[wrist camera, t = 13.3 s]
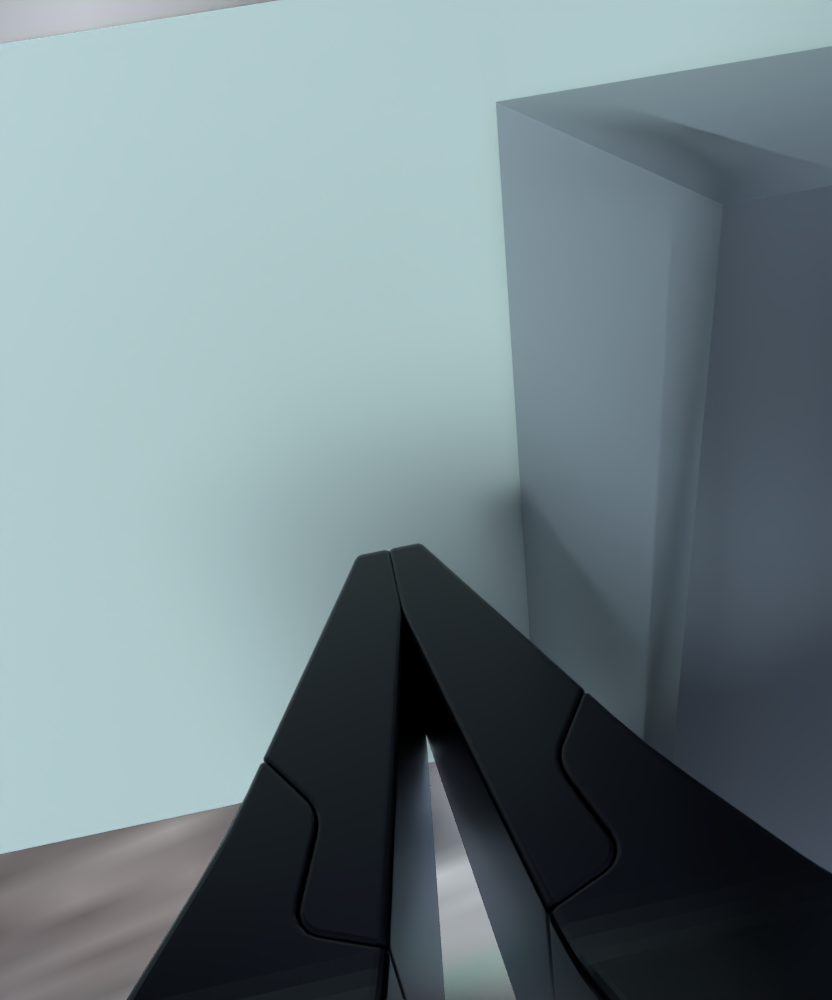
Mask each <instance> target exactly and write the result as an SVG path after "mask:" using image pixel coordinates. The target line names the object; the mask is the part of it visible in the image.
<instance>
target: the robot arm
mask: <svg viewBox="0 0 832 1000" xmlns="http://www.w3.org/2000/svg"><path fill="white" fill-rule="evenodd" d="M426 736H427V739H428V742H429V745H430V748H431V751H432V754H433V757H434V760H435V763H436V766H437V769H438V771H439V774H440V777H441V780H442V783H443V786H444V789H445V792H446V795H447V798H448V801H449V804H450V807H451V809H452V812H453V815H454V818H455V821H456V824H457V827H458V830H459V833H460V836H461V839H462V842H463V845H464V847H465V850H466V853H467V856H468V859H469V862H470V865H471V868H472V871H473V874H474V877H475V880H476V883H477V885H478V888H479V891H480V894H481V897H482V900H483V903H484V906H485V909H486V912H487V915H488V918H489V920H490V923H491V926H492V929H493V932H494V935H495V938H496V941H497V944H498V947H499V950H500V953H501V956H502V958H503V961H504V964H505V967H506V970H507V973H508V976H509V979H510V982H511V985H512V988H513V991H514V994H515V996H516V999H517V1000H832V873H831V872H829V871H827V870H826V869H824V868H822V867H820V866H819V865H817V864H816V863H814V862H813V861H811V860H810V859H808V858H807V857H805V856H804V855H802V854H801V853H799V852H798V851H796V850H795V849H793V848H792V847H791V846H789V845H788V844H786V843H785V842H783V841H782V840H781V839H779V838H778V837H776V836H775V835H774V834H772V833H771V832H769V831H768V830H766V829H765V828H764V827H762V826H761V825H759V824H758V823H757V822H755V821H754V820H752V819H751V818H749V817H748V816H747V815H745V814H744V813H742V812H741V811H740V810H738V809H737V808H735V807H734V806H732V805H731V804H730V803H728V802H727V801H725V800H724V799H723V798H721V797H720V796H718V795H717V794H715V793H714V792H713V791H711V790H710V789H708V788H707V787H706V786H704V785H703V784H701V783H700V782H698V781H697V780H696V779H694V778H693V777H691V776H690V775H689V774H687V773H686V772H685V771H683V770H682V769H680V768H679V767H678V766H676V765H675V764H674V763H672V762H671V761H670V760H668V759H667V758H666V757H664V756H663V755H662V754H660V753H659V752H658V751H656V750H655V749H654V748H652V747H651V746H650V745H648V744H647V743H646V742H644V741H643V740H642V739H641V738H640V737H638V736H637V735H636V734H635V733H634V732H632V731H631V730H630V729H629V728H628V727H627V726H625V725H624V724H623V723H622V722H621V721H619V720H618V719H617V718H616V717H615V716H613V715H612V714H611V713H610V712H609V711H608V710H607V709H606V708H605V707H603V706H602V705H601V704H600V703H599V702H598V701H597V700H596V699H595V698H594V697H592V696H591V695H590V694H589V693H585V691H584V689H583V688H582V687H581V686H580V685H579V684H578V683H576V682H575V681H574V680H573V679H572V678H571V677H570V676H569V675H567V674H566V673H565V672H564V671H563V670H562V669H561V668H560V667H559V666H557V665H556V664H555V663H554V662H553V661H552V660H551V659H550V658H549V657H547V656H546V655H545V654H544V653H543V652H542V651H541V650H540V649H539V648H537V647H536V646H535V645H534V644H533V643H532V642H531V641H530V640H529V639H527V638H526V637H525V636H524V635H523V634H522V633H521V632H520V631H519V630H517V629H516V628H515V627H514V626H513V625H512V624H511V623H510V622H508V621H507V620H506V619H505V618H504V617H503V616H502V615H501V614H500V613H498V612H497V611H496V610H495V609H494V608H493V607H492V606H491V605H490V604H488V603H487V602H486V601H485V600H484V599H483V598H482V597H481V596H480V595H478V594H477V593H476V592H475V591H474V590H473V589H472V588H471V587H470V586H468V585H467V584H466V583H465V582H464V581H463V580H462V579H461V578H459V577H458V576H457V575H456V574H455V573H454V572H453V571H452V570H451V569H449V568H448V567H447V566H446V565H445V564H444V563H443V562H442V561H441V560H439V559H438V558H437V557H436V556H435V555H434V554H433V553H432V552H431V551H429V550H428V549H427V548H426V547H425V546H424V545H422V544H420V543H416V544H411V545H406V546H401V547H396V548H393V549H391V550H390V551H388V550H382V551H377V552H372V553H367V554H362V555H359V556H358V557H357V558H356V559H355V561H354V563H353V566H352V568H351V570H350V572H349V574H348V576H347V579H346V581H345V583H344V585H343V587H342V589H341V591H340V594H339V596H338V598H337V600H336V602H335V604H334V607H333V609H332V611H331V613H330V615H329V617H328V620H327V622H326V624H325V626H324V628H323V630H322V633H321V635H320V637H319V639H318V641H317V643H316V645H315V648H314V650H313V652H312V654H311V656H310V658H309V661H308V663H307V665H306V667H305V669H304V671H303V674H302V676H301V678H300V680H299V682H298V684H297V687H296V689H295V691H294V693H293V695H292V697H291V699H290V702H289V704H288V706H287V708H286V710H285V712H284V715H283V717H282V719H281V721H280V723H279V725H278V728H277V730H276V732H275V734H274V736H273V738H272V741H271V743H270V745H269V747H268V749H267V751H266V753H265V756H264V758H263V760H264V763H261V764H260V766H259V768H258V770H257V772H256V774H255V776H254V779H253V781H252V783H251V785H250V787H249V790H248V792H247V794H246V796H245V798H244V800H243V802H242V804H241V806H240V808H239V810H238V812H237V814H236V816H235V818H234V820H233V822H232V824H231V826H230V828H229V830H228V832H227V834H226V836H225V837H224V839H223V841H222V843H221V844H220V846H219V848H218V849H217V851H216V853H215V855H214V856H213V858H212V860H211V862H210V863H209V865H208V867H207V868H206V870H205V872H204V874H203V875H202V877H201V879H200V880H199V882H198V884H197V886H196V887H195V889H194V890H193V892H192V894H191V895H190V897H189V899H188V900H187V902H186V904H185V905H184V907H183V908H182V910H181V912H180V913H179V915H178V917H177V918H176V920H175V922H174V923H173V925H172V926H171V928H170V930H169V931H168V933H167V935H166V936H165V938H164V939H163V941H162V943H161V944H160V946H159V948H158V949H157V951H156V953H155V954H154V956H153V957H152V959H151V961H150V962H149V964H148V966H147V967H146V969H145V971H144V972H143V974H142V975H141V977H140V979H139V980H138V982H137V984H136V985H135V987H134V988H133V990H132V992H131V993H130V995H129V997H128V998H127V1000H445V994H444V979H443V965H442V951H441V937H440V922H439V908H438V894H437V879H436V865H435V851H434V836H433V822H432V808H431V794H430V779H429V765H428V751H427V739H426Z"/></svg>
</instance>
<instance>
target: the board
mask: <svg viewBox="0 0 832 1000" xmlns="http://www.w3.org/2000/svg"><path fill="white" fill-rule="evenodd" d="M830 46H832V0H278V1H272V2H266V3H259V4H253V5H246V6H240V7H234V8H227V9H221V10H214V11H208V12H202V13H195V14H189V15H182V16H176V17H170V18H163V19H157V20H150V21H144V22H138V23H131V24H125V25H118V26H112V27H106V28H99V29H93V30H86V31H80V32H74V33H67V34H61V35H54V36H48V37H42V38H35V39H29V40H22V41H16V42H10V43H3V44H0V854H2V853H7V852H12V851H17V850H21V849H26V848H31V847H35V846H40V845H45V844H50V843H54V842H59V841H64V840H68V839H73V838H78V837H83V836H87V835H92V834H97V833H101V832H106V831H111V830H116V829H120V828H125V827H130V826H134V825H139V824H144V823H149V822H153V821H158V820H163V819H167V818H172V817H177V816H182V815H186V814H191V813H196V812H200V811H205V810H210V809H215V808H219V807H224V806H229V805H233V804H238V803H242V802H243V800H244V798H245V796H246V794H247V792H248V790H249V787H250V785H251V783H252V781H253V779H254V776H255V774H256V772H257V770H258V768H259V766H260V764H261V763H264V760H263V758H264V756H265V753H266V751H267V749H268V747H269V745H270V743H271V741H272V738H273V736H274V734H275V732H276V730H277V728H278V725H279V723H280V721H281V719H282V717H283V715H284V712H285V710H286V708H287V706H288V704H289V702H290V699H291V697H292V695H293V693H294V691H295V689H296V687H297V684H298V682H299V680H300V678H301V676H302V674H303V671H304V669H305V667H306V665H307V663H308V661H309V658H310V656H311V654H312V652H313V650H314V648H315V645H316V643H317V641H318V639H319V637H320V635H321V633H322V630H323V628H324V626H325V624H326V622H327V620H328V617H329V615H330V613H331V611H332V609H333V607H334V604H335V602H336V600H337V598H338V596H339V594H340V591H341V589H342V587H343V585H344V583H345V581H346V579H347V576H348V574H349V572H350V570H351V568H352V566H353V563H354V561H355V559H356V558H357V557H358V556H359V555H362V554H367V553H372V552H377V551H382V550H388V551H390V550H391V549H393V548H396V547H401V546H406V545H411V544H416V543H420V544H422V545H424V546H425V547H426V548H427V549H428V550H429V551H431V552H432V553H433V554H434V555H435V556H436V557H437V558H438V559H439V560H441V561H442V562H443V563H444V564H445V565H446V566H447V567H448V568H449V569H451V570H452V571H453V572H454V573H455V574H456V575H457V576H458V577H459V578H461V579H462V580H463V581H464V582H465V583H466V584H467V585H468V586H470V587H471V588H472V589H473V590H474V591H475V592H476V593H477V594H478V595H480V596H481V597H482V598H483V599H484V600H485V601H486V602H487V603H488V604H490V605H491V606H492V607H493V608H494V609H495V610H496V611H497V612H498V613H500V614H501V615H502V616H503V617H504V618H505V619H506V620H507V621H508V622H510V623H511V624H512V625H513V626H514V627H515V628H516V629H517V630H519V631H520V632H521V633H522V634H523V635H524V636H525V637H526V638H527V639H529V640H530V632H529V617H528V601H527V585H526V569H525V554H524V538H523V522H522V506H521V491H520V475H519V459H518V443H517V428H516V412H515V396H514V380H513V365H512V349H511V333H510V317H509V302H508V286H507V270H506V254H505V239H504V223H503V207H502V191H501V176H500V160H499V144H498V128H497V113H496V102H498V101H504V100H510V99H516V98H522V97H528V96H534V95H540V94H546V93H552V92H558V91H564V90H570V89H577V88H583V87H589V86H595V85H601V84H607V83H613V82H619V81H625V80H631V79H637V78H643V77H649V76H655V75H661V74H667V73H673V72H679V71H685V70H691V69H697V68H703V67H709V66H715V65H721V64H727V63H733V62H739V61H745V60H751V59H757V58H763V57H769V56H775V55H782V54H788V53H794V52H800V51H806V50H812V49H818V48H824V47H830ZM426 739H427V736H426ZM427 751H428V763H431V762H435V760H434V757H433V754H432V751H431V748H430V745H429V742H428V739H427Z"/></svg>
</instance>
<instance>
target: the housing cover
mask: <svg viewBox="0 0 832 1000" xmlns="http://www.w3.org/2000/svg"><path fill="white" fill-rule="evenodd" d="M496 113H497V128H498V144H499V160H500V176H501V191H502V207H503V223H504V239H505V254H506V270H507V286H508V302H509V317H510V333H511V349H512V365H513V380H514V396H515V412H516V428H517V443H518V459H519V475H520V491H521V506H522V522H523V538H524V554H525V569H526V585H527V601H528V617H529V632H530V641H531V642H532V643H533V644H534V645H535V646H536V647H537V648H539V649H540V650H541V651H542V652H543V653H544V654H545V655H546V656H547V657H549V658H550V659H551V660H552V661H553V662H554V663H555V664H556V665H557V666H559V667H560V668H561V669H562V670H563V671H564V672H565V673H566V674H567V675H569V676H570V677H571V678H572V679H573V680H574V681H575V682H576V683H578V684H579V685H580V686H581V687H582V688H583V689H584V691H585V693H589V694H590V695H591V696H592V697H594V698H595V699H596V700H597V701H598V702H599V703H600V704H601V705H602V706H603V707H605V708H606V709H607V710H608V711H609V712H610V713H611V714H612V715H613V716H615V717H616V718H617V719H618V720H619V721H621V722H622V723H623V724H624V725H625V726H627V727H628V728H629V729H630V730H631V731H632V732H634V733H635V734H636V735H637V736H638V737H640V738H641V739H642V740H643V741H644V742H646V743H647V744H648V745H650V746H651V747H652V748H654V749H655V750H656V751H658V752H659V753H660V754H662V755H663V756H664V757H666V758H667V759H668V760H670V761H671V762H672V763H674V764H675V765H676V766H678V767H679V768H680V769H682V770H683V771H685V772H686V773H687V774H689V775H690V776H691V777H693V778H694V779H696V780H697V781H698V782H700V783H701V784H703V785H704V786H706V787H707V788H708V789H710V790H711V791H713V792H714V793H715V794H717V795H718V796H720V797H721V798H723V799H724V800H725V801H727V802H728V803H730V804H731V805H732V806H734V807H735V808H737V809H738V810H740V811H741V812H742V813H744V814H745V815H747V816H748V817H749V818H751V819H752V820H754V821H755V822H757V823H758V824H759V825H761V826H762V827H764V828H765V829H766V830H768V831H769V832H771V833H772V834H774V835H775V836H776V837H778V838H779V839H781V840H782V841H783V842H785V843H786V844H788V845H789V846H791V847H792V848H793V849H795V850H796V851H798V852H799V853H801V854H802V855H804V856H805V857H807V858H808V859H810V860H811V861H813V862H814V863H816V864H817V865H819V866H820V867H822V868H824V869H826V870H827V871H829V872H831V873H832V46H830V47H824V48H818V49H812V50H806V51H800V52H794V53H788V54H782V55H775V56H769V57H763V58H757V59H751V60H745V61H739V62H733V63H727V64H721V65H715V66H709V67H703V68H697V69H691V70H685V71H679V72H673V73H667V74H661V75H655V76H649V77H643V78H637V79H631V80H625V81H619V82H613V83H607V84H601V85H595V86H589V87H583V88H577V89H570V90H564V91H558V92H552V93H546V94H540V95H534V96H528V97H522V98H516V99H510V100H504V101H498V102H496Z"/></svg>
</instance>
